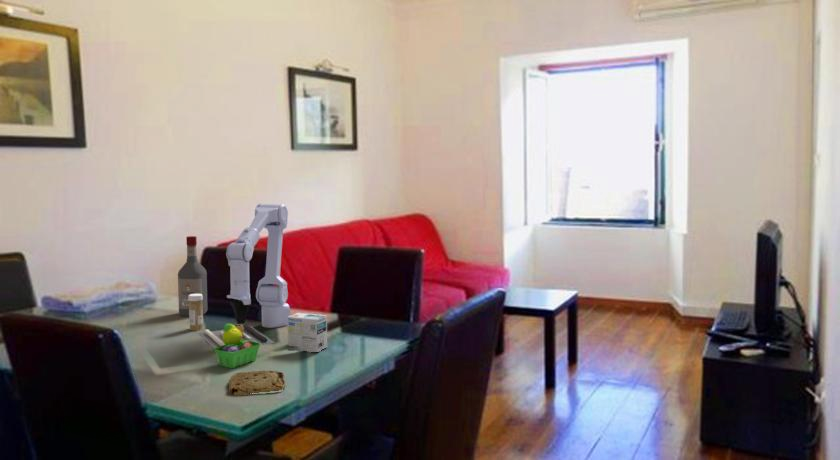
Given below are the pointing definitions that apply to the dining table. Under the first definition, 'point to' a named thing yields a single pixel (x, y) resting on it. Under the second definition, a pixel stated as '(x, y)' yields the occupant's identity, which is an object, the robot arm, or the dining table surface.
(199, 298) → the sprinkles bottle
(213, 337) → the white rounded rod
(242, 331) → the block
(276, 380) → the pastry
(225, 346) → the fruit basket
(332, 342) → the dining table surface
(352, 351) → the dining table surface
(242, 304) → the robot arm
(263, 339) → the dark grey rounded rod
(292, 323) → the light bulb box
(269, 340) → the panel
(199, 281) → the liquor
